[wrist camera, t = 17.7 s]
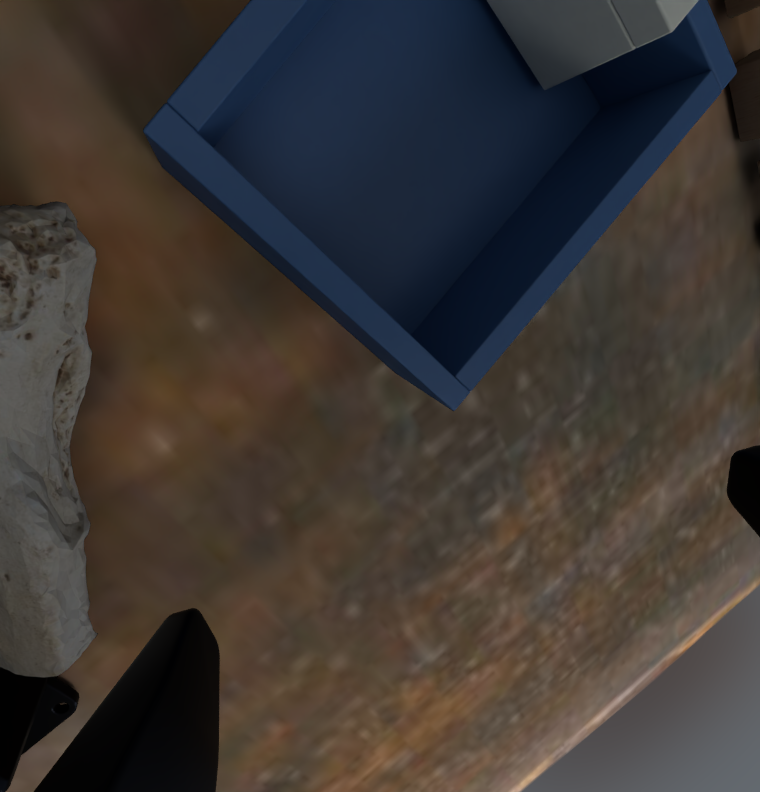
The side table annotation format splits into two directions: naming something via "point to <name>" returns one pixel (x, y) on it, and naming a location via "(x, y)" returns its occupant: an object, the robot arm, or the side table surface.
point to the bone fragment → (42, 438)
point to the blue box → (425, 163)
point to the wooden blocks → (746, 82)
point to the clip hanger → (583, 31)
